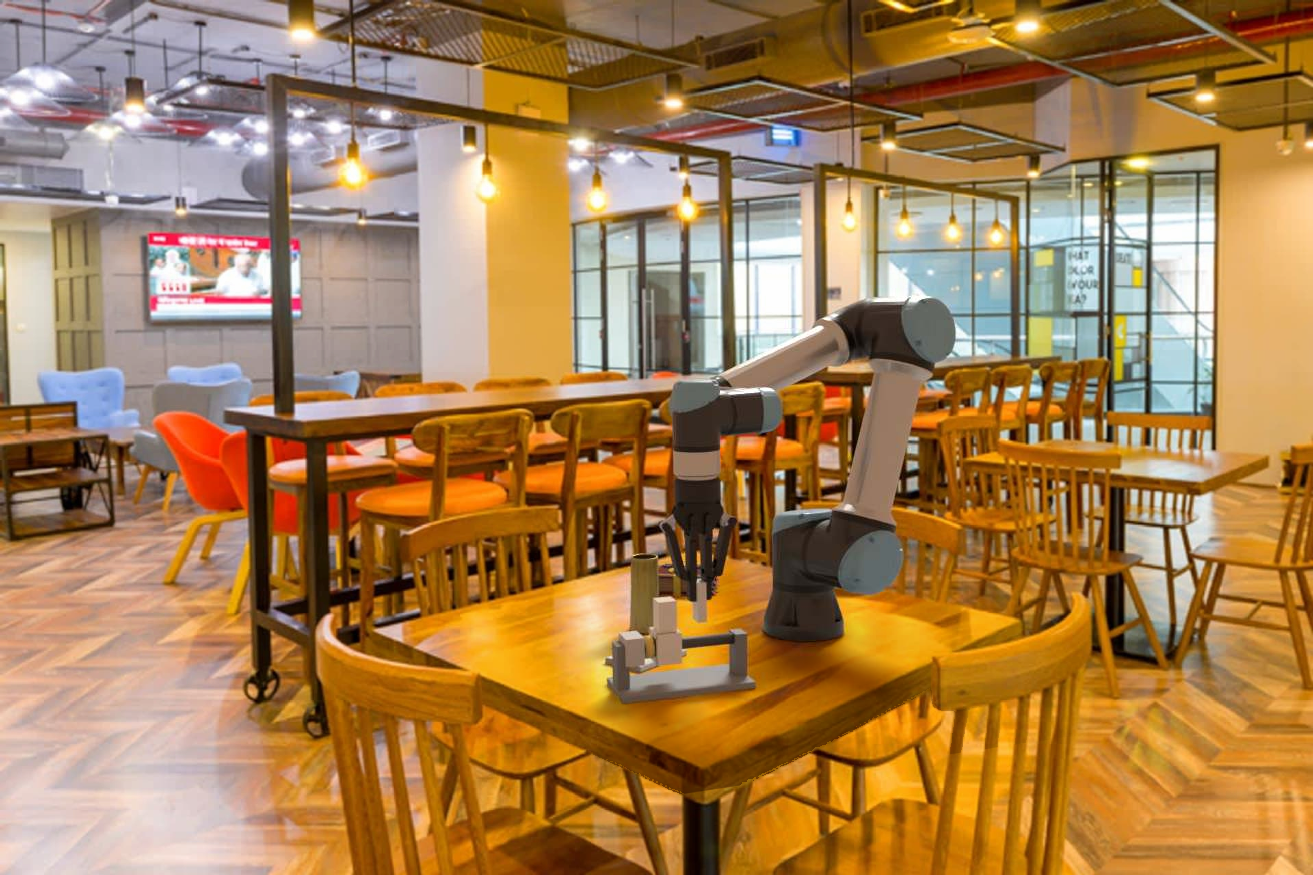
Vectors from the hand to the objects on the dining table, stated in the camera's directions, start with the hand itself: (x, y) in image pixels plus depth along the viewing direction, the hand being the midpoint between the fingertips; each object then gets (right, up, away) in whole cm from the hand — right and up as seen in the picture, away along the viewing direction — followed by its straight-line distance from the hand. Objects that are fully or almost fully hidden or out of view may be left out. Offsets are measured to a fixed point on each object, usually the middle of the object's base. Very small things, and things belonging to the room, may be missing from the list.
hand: (699, 619), depth 178 cm
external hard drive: (-9, -10, +14) cm, 20 cm away
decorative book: (-1, -4, +63) cm, 64 cm away
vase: (-9, -7, +33) cm, 35 cm away
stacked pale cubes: (-6, -6, -1) cm, 8 cm away
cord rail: (-3, -11, 0) cm, 11 cm away
